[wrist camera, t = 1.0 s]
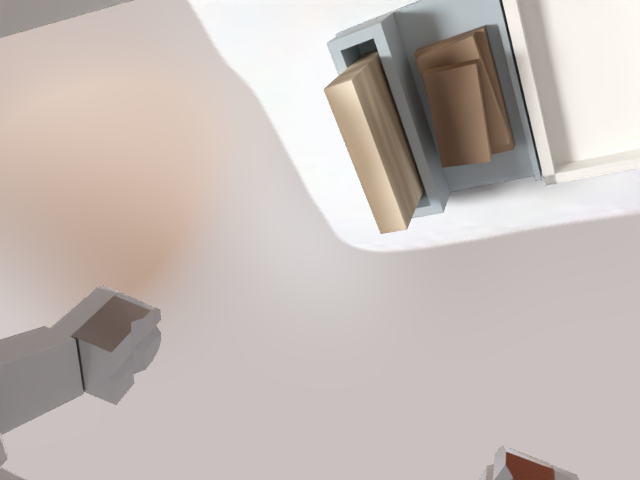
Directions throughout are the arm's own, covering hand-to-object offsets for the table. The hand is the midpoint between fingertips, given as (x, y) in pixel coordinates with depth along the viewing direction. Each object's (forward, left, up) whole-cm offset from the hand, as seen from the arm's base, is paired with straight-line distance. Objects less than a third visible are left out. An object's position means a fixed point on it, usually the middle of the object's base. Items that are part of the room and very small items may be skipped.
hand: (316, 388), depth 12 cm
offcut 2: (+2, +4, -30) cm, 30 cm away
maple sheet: (+7, +3, -33) cm, 34 cm away
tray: (-7, +3, -34) cm, 34 cm away
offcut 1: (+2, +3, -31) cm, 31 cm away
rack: (+4, +3, -34) cm, 34 cm away
